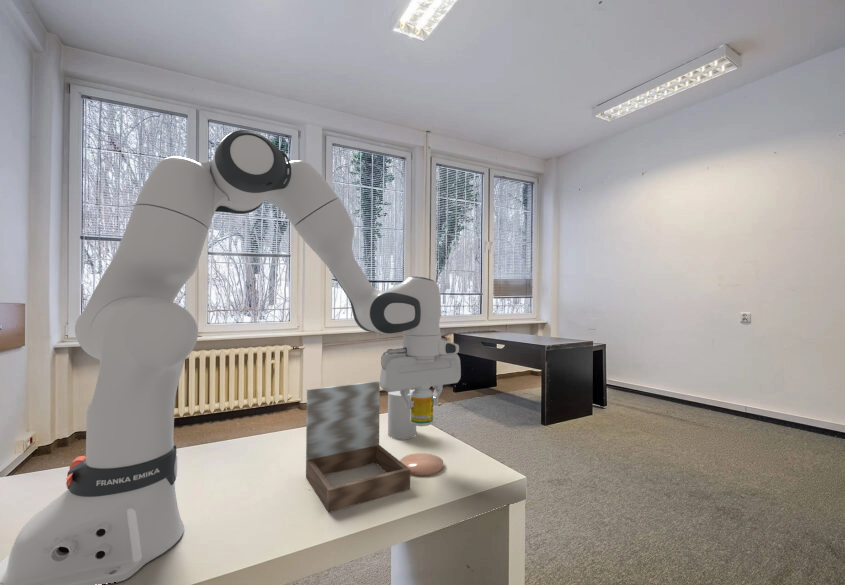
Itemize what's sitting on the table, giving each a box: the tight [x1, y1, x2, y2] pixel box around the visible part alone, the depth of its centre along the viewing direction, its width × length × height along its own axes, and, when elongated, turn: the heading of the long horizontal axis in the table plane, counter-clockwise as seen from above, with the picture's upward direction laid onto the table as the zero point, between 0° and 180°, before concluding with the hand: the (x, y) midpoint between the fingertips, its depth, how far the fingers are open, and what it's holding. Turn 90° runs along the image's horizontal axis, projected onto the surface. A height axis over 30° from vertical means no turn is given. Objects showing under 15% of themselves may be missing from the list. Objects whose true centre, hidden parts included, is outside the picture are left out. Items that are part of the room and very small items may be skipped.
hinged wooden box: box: [305, 380, 411, 513], centre depth 81 cm, size 17×16×19 cm
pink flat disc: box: [399, 452, 444, 477], centre depth 89 cm, size 10×10×1 cm
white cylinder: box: [387, 389, 417, 440], centre depth 110 cm, size 8×8×12 cm
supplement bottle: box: [410, 383, 434, 427], centre depth 89 cm, size 5×5×10 cm
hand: (421, 406), depth 89 cm, fingers closed on supplement bottle, 5 cm apart
